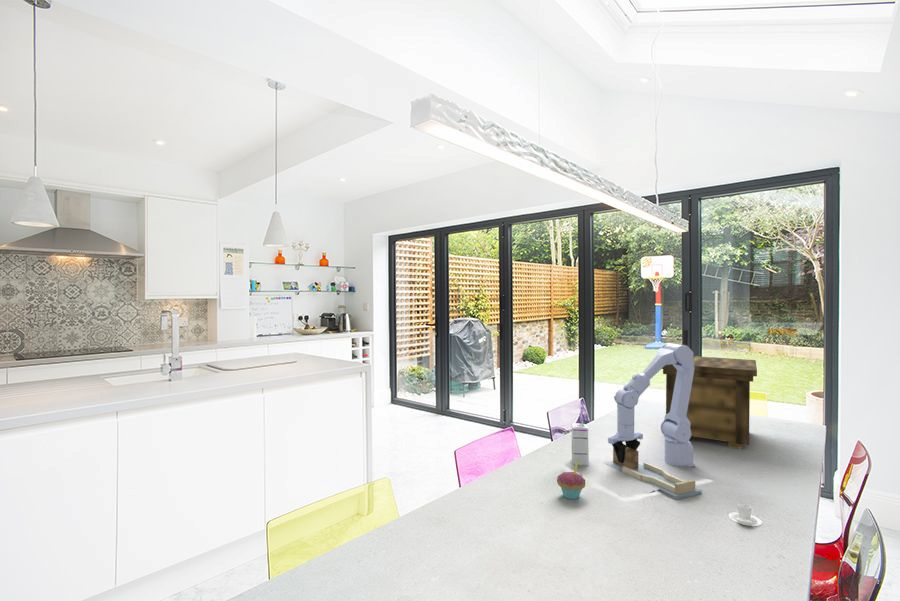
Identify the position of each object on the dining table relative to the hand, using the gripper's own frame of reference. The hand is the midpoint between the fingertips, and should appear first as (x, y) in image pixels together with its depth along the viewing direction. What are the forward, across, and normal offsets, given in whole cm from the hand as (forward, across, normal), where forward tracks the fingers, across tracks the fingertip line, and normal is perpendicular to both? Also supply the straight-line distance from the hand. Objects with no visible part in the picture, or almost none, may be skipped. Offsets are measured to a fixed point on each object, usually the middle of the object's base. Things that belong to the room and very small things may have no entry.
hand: (625, 461), depth 167 cm
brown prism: (+1, 0, 0) cm, 1 cm away
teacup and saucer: (+3, +1, +41) cm, 41 cm away
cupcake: (+3, +33, +11) cm, 35 cm away
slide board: (+2, 0, +10) cm, 10 cm away
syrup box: (+3, +13, -9) cm, 16 cm away
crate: (+3, -63, -15) cm, 65 cm away
